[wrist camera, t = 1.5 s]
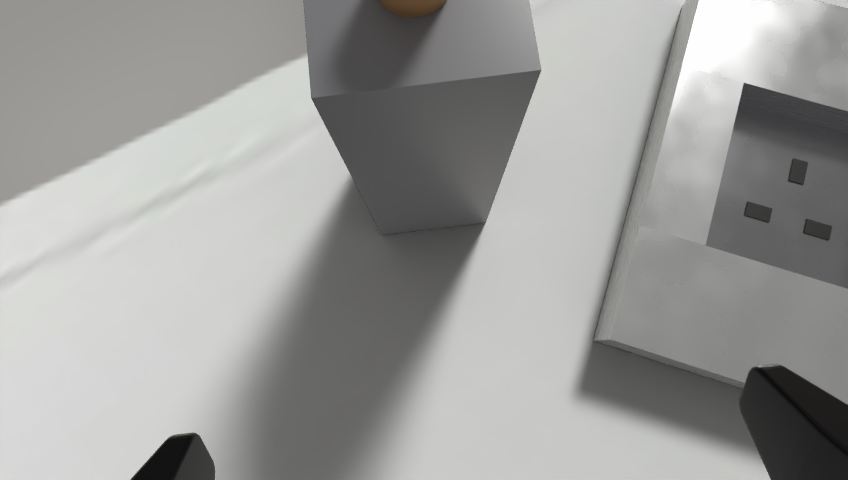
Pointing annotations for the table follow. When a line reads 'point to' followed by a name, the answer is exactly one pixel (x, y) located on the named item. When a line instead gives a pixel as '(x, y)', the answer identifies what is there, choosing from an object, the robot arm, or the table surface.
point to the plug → (423, 101)
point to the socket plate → (742, 199)
